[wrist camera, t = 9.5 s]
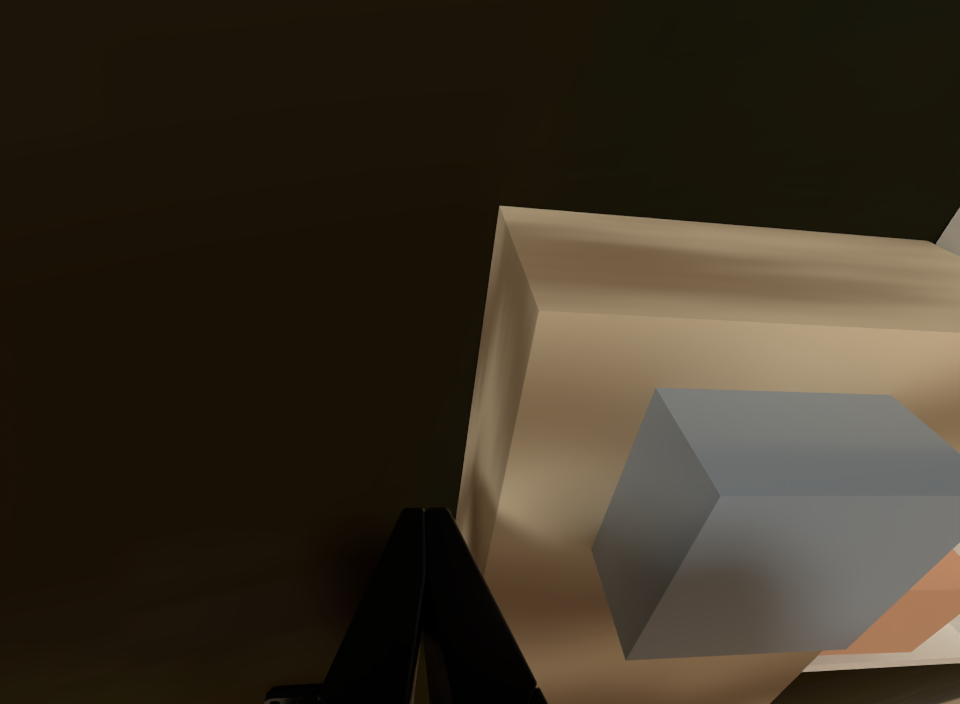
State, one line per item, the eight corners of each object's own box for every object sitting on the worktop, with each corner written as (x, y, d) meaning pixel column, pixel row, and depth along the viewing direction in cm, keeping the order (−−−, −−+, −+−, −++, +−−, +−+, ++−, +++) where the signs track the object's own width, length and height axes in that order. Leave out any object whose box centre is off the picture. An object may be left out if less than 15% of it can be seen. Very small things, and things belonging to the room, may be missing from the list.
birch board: (696, 597, 24) (752, 720, 20) (443, 606, 22) (448, 742, 18) (927, 240, 14) (1135, 341, 10) (499, 205, 12) (539, 310, 8)
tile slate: (779, 546, 13) (846, 649, 11) (591, 549, 12) (625, 661, 10) (890, 394, 10) (1009, 495, 8) (655, 387, 9) (720, 496, 7)
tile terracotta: (812, 655, 22) (778, 598, 24) (911, 652, 22) (870, 597, 25) (880, 590, 19) (836, 532, 21) (991, 589, 20) (938, 533, 22)
